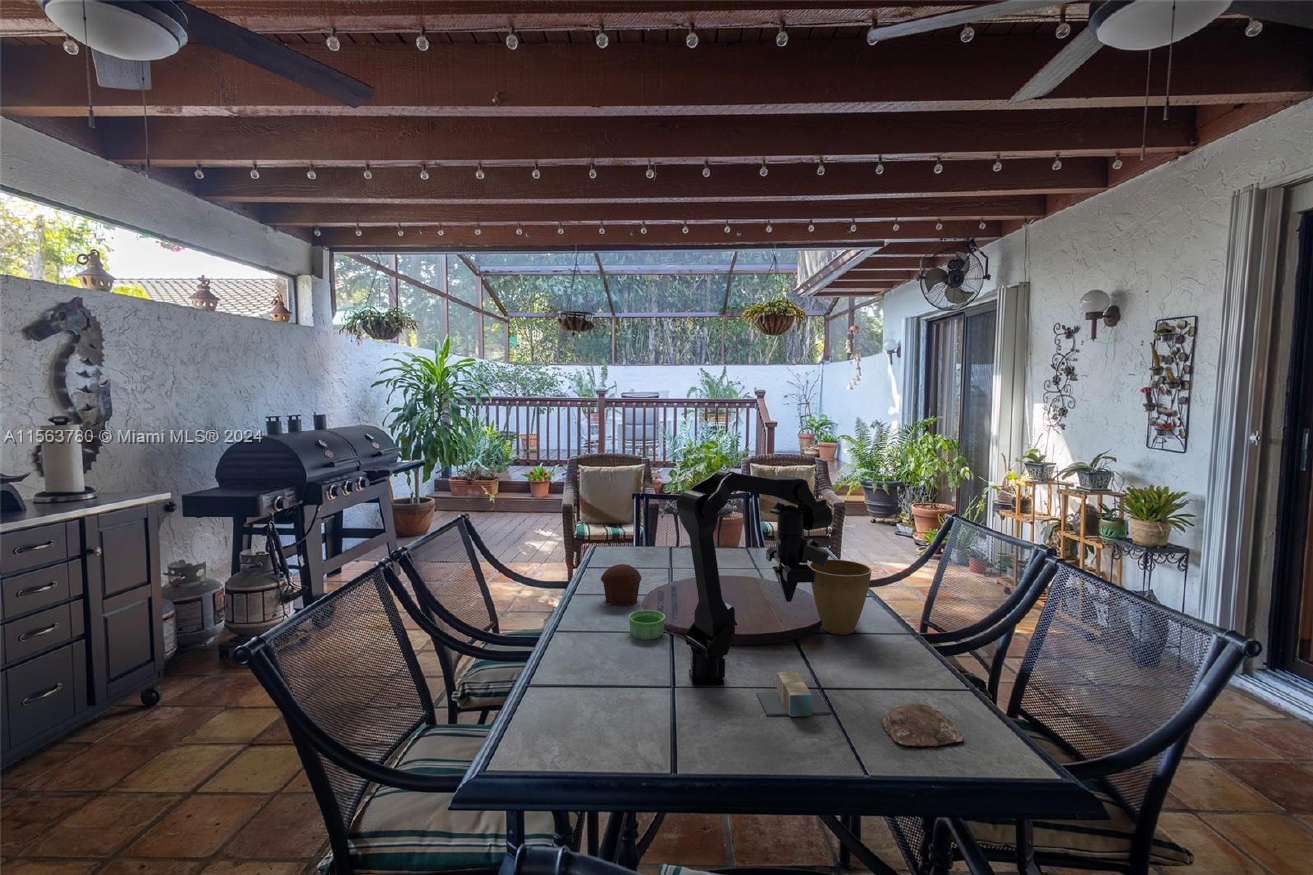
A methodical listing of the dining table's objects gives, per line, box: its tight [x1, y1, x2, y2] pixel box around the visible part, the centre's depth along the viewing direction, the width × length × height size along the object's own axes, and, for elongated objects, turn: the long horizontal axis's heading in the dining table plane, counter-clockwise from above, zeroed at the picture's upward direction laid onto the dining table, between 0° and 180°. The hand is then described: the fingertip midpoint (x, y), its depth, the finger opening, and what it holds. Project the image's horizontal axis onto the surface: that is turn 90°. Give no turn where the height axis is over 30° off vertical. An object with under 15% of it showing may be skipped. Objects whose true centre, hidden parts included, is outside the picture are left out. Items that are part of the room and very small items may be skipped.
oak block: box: [776, 671, 812, 717], centre depth 116 cm, size 4×4×9 cm
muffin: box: [600, 563, 642, 607], centre depth 172 cm, size 12×11×10 cm
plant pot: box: [808, 558, 873, 636], centre depth 153 cm, size 15×15×16 cm
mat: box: [756, 690, 831, 717], centre depth 117 cm, size 12×8×1 cm, turn 94°
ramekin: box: [628, 609, 666, 641], centre depth 150 cm, size 9×9×4 cm
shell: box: [881, 703, 964, 750], centre depth 109 cm, size 12×13×4 cm
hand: (788, 601), depth 137 cm, fingers closed
